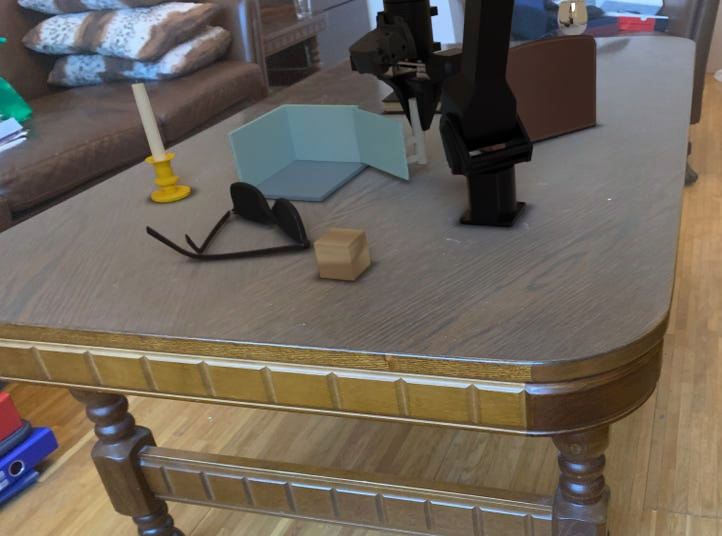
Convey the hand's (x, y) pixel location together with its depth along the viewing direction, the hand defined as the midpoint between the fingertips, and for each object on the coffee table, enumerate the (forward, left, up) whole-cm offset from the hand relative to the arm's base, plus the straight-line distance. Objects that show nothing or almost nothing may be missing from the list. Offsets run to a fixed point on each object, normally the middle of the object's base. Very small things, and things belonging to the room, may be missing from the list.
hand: (420, 129), depth 101 cm
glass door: (+1, +5, -6) cm, 7 cm away
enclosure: (-4, +16, -7) cm, 18 cm away
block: (-29, -3, -7) cm, 30 cm away
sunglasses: (-26, +14, -7) cm, 30 cm away
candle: (-12, +33, -7) cm, 36 cm away
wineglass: (+64, -6, -7) cm, 65 cm away
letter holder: (+20, -9, -7) cm, 23 cm away
